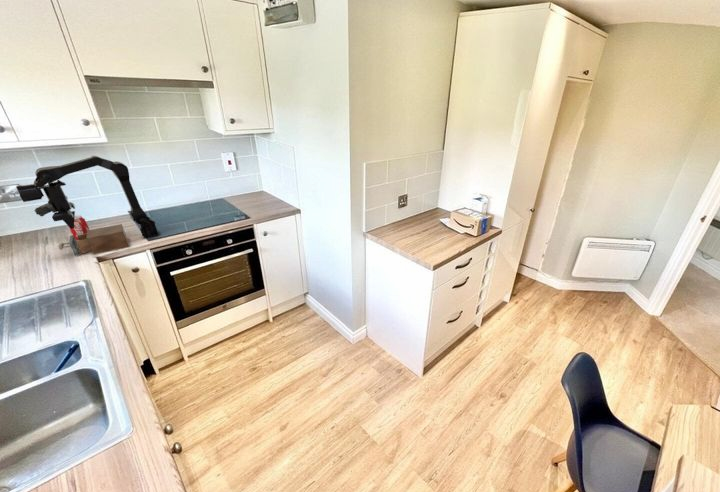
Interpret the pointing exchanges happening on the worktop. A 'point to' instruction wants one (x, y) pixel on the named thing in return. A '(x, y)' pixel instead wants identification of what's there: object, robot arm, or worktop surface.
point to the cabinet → (107, 239)
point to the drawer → (77, 244)
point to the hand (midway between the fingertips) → (72, 228)
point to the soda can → (79, 227)
